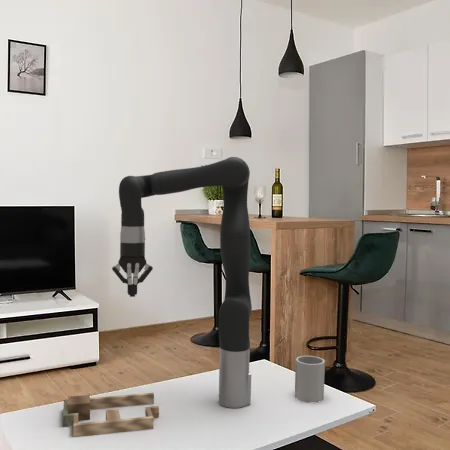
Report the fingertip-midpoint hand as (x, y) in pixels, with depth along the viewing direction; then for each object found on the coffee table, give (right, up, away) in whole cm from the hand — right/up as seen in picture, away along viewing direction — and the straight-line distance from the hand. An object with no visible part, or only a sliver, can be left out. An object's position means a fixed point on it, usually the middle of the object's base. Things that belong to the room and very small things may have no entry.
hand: (132, 296), depth 163 cm
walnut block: (-13, -33, -14) cm, 38 cm away
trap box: (-3, -33, -15) cm, 36 cm away
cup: (+56, -33, +5) cm, 65 cm away
